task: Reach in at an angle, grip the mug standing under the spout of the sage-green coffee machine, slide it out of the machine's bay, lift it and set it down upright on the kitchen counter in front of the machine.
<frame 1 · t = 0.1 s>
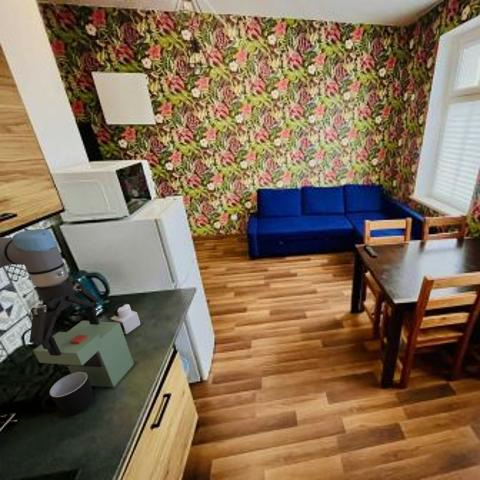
hand: (76, 338, 86), 21 cm above the kitchen counter, tool pointing down, fingers open, 13 cm apart
medicine bottle: (128, 328, 121), on the kitchen counter
coffee machine: (106, 373, 98), on the kitchen counter
mug: (74, 408, 86), on the kitchen counter
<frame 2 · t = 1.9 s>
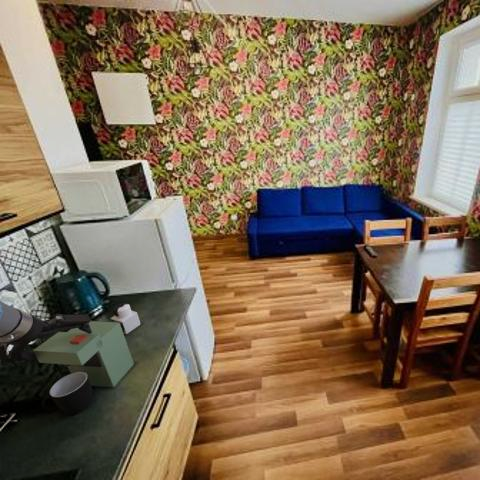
hand: (63, 343, 84), 21 cm above the kitchen counter, tool tilted 35°
nothing on the kitchen counter moved.
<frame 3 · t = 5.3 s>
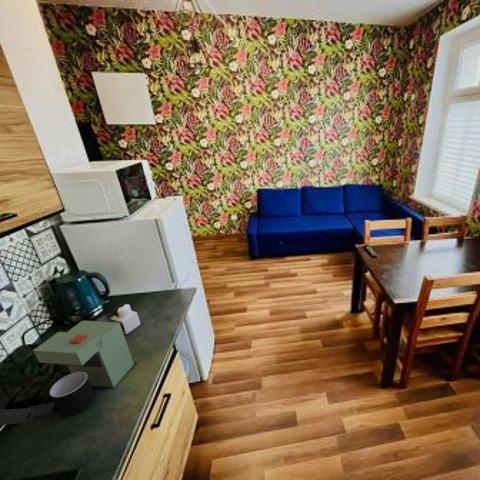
hand: (28, 406, 73), 13 cm above the kitchen counter, tool tilted 45°, fingers open, 13 cm apart
nothing on the kitchen counter moved.
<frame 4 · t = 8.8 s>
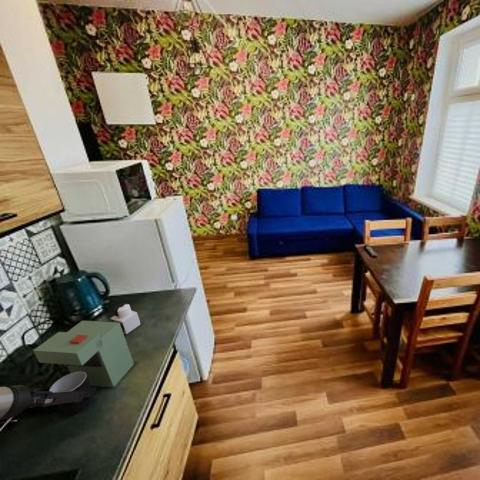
hand: (78, 390, 87), 4 cm above the kitchen counter, tool tilted 45°, fingers closed on mug, 10 cm apart
mug: (74, 408, 86), on the kitchen counter, touching gripper
everything else where it was.
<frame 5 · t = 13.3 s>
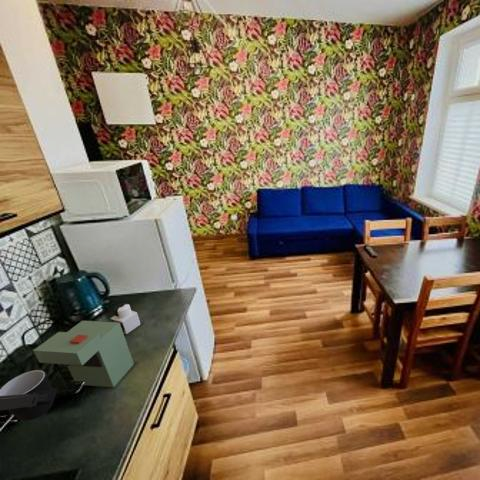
hand: (36, 392, 75), 15 cm above the kitchen counter, tool tilted 45°, fingers closed on mug, 10 cm apart
mug: (31, 412, 74), point 11 cm above the kitchen counter, touching gripper
everything else where it was.
when the fingers open (4 cm above the kitchen counter, at t = 17.8 s): mug stays where it is, on the kitchen counter.
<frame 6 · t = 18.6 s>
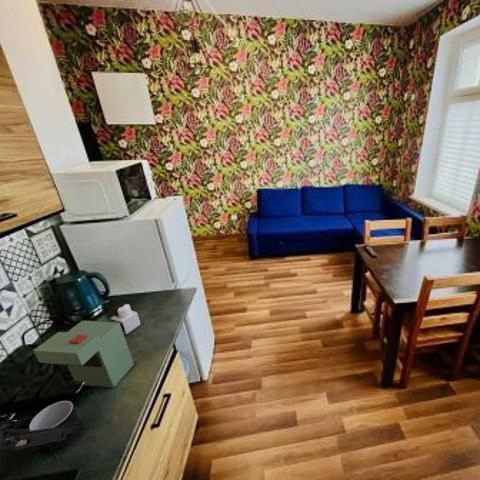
hand: (58, 423, 77), 5 cm above the kitchen counter, tool tilted 45°, fingers open, 13 cm apart
mug: (58, 442, 77), on the kitchen counter
everything else where it was.
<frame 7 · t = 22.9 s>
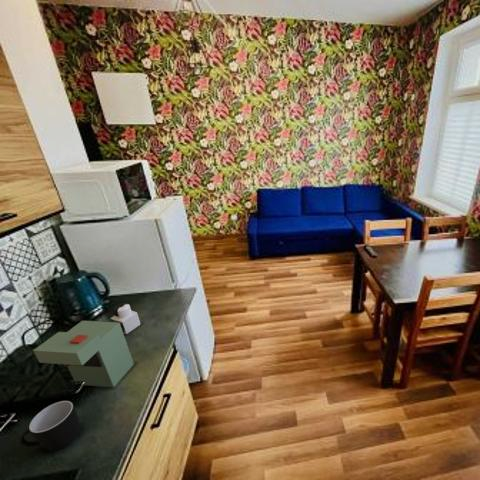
nothing on the kitchen counter moved.
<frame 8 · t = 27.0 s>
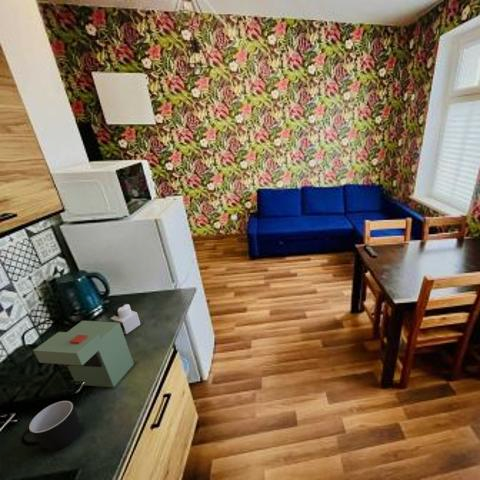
nothing on the kitchen counter moved.
at the end: mug inside the target area (0.4 cm from its centre), on the kitchen counter; mug tilted 0°; the gripper is holding nothing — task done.
